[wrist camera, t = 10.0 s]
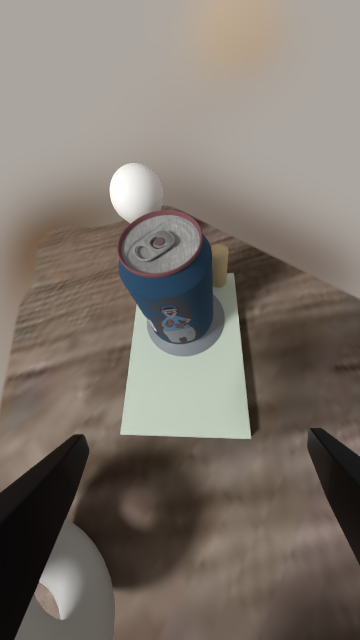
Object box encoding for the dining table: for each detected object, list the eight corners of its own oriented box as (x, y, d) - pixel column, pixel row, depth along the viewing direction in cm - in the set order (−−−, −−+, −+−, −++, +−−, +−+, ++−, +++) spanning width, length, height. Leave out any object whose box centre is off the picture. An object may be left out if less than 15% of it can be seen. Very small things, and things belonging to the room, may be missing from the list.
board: (249, 438, 20) (262, 442, 15) (125, 434, 22) (94, 436, 16) (233, 278, 28) (237, 242, 22) (142, 284, 30) (126, 252, 24)
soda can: (188, 284, 27) (171, 190, 16) (226, 323, 24) (235, 239, 13) (142, 316, 26) (91, 239, 15) (175, 361, 23) (141, 304, 12)
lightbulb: (167, 225, 34) (148, 144, 24) (179, 253, 31) (163, 173, 21) (130, 238, 34) (96, 161, 24) (138, 266, 31) (104, 193, 21)
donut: (144, 591, 17) (64, 778, 8) (113, 642, 16) (-18, 922, 7) (67, 488, 20) (-46, 535, 12) (38, 525, 19) (-109, 607, 11)
